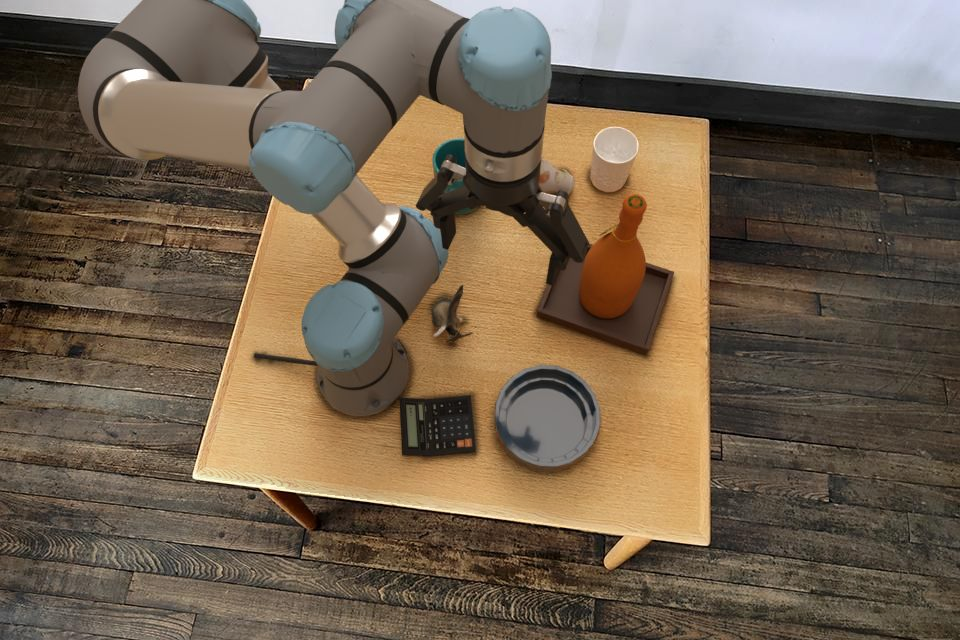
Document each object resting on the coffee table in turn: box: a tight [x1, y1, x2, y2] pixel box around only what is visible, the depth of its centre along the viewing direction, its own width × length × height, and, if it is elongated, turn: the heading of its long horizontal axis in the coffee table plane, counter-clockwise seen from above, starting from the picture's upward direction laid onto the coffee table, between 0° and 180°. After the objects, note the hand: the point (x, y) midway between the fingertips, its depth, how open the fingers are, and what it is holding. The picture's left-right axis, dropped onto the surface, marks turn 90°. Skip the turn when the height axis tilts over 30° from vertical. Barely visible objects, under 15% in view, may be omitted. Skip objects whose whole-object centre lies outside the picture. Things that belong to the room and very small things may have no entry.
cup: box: [431, 137, 479, 215], centre depth 134 cm, size 9×12×11 cm
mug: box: [539, 156, 576, 196], centre depth 138 cm, size 8×10×10 cm
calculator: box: [398, 394, 477, 458], centre depth 121 cm, size 9×12×3 cm
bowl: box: [494, 364, 601, 474], centre depth 120 cm, size 16×16×5 cm
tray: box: [535, 243, 675, 356], centre depth 130 cm, size 20×16×3 cm
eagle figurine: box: [430, 284, 474, 345], centre depth 127 cm, size 8×7×9 cm
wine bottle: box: [579, 193, 648, 319], centre depth 117 cm, size 10×10×30 cm
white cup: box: [589, 126, 640, 193], centre depth 136 cm, size 8×8×10 cm
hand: (500, 257), depth 93 cm, fingers open, 13 cm apart
